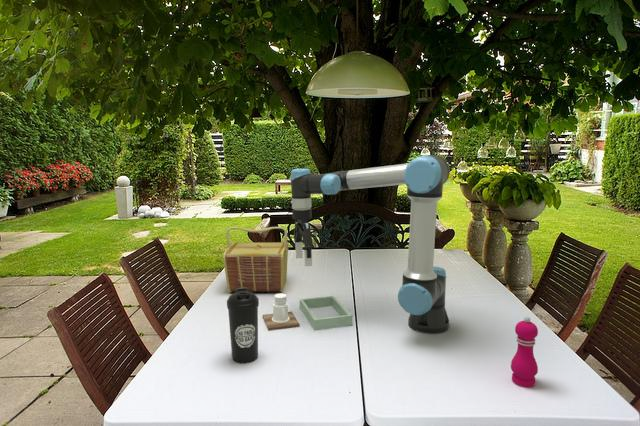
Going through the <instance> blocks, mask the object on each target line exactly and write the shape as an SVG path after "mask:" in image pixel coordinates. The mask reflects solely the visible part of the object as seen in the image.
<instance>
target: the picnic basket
mask: <svg viewBox="0 0 640 426" xmlns="http://www.w3.org/2000/svg"><path fill="white" fill-rule="evenodd" d="M231 230H242V231H244V232H246V233H247V232H248V233H256V234H257V233H265V232H269V231H271V230H283V231H284V237H283V238H284V239H283V242H279V241H277V242H275V241H273V242H269V241H268V242H264V241H262V242H259V241H258V242H235V241H233V242H232V243H231V240H230V239H231V238H230V231H231ZM225 234H226V241H227V242H226V243H227V248H226V249H225V251H224V252H223V253H222V254H223V255H222V259H223V260H222V261H223V265H224V274H225V279H226V285H227V290H228V293H230V294H231V293H236V288H241V287H247V289H248V291H249V292H252V293H257V292H260V293H263V292H266V293H267V292H269V293H270V292H271V293H272V292H273V293H274V292H280V293H283V292H284V289H285V286H286V284H287V277H288V276H287V275H288V274H287V273H288V255H289V242H288V230H287V229H286V228H285V227H284V226H270V227H266V228H258V229H257V228H255V229H254V228H249V227H248V228H247V227H241V226H234V227H233V226H231V227H229V228H227V229H226V232H225Z"/></svg>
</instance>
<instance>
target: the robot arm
mask: <svg viewBox="0 0 640 426" xmlns="http://www.w3.org/2000/svg"><path fill="white" fill-rule="evenodd" d="M450 174H451V170H450V165H449V163H448V161H447V160H446V159H445V158H443V157H442V156H440V155H436V154H429V155H420V156H418V157H415V158H413V159H412V160H411V161H409V162H408V163H401V164H400V163H399V164H393V165H392V164H391V165H384V166H374V167H367V168H360V169H359V168H358V169H352V170H351V169H350V170H340V171H334V172H327V173H320V174H319V173H318V174H317V173H315V174H314V173H311V169H309V168H294V169H292V170H291V171H290V185H291V201H290V204H291V208H292V210H291V213H292V214H291V215H292V217H291V218H292V220H294V229H293V240H294V244H295V259H303V258H304V267H305V268H306V267H312V266H313V249H314V248H315V247H314V242H313V237H312V230H311V223H310V222H308V220H310V219H312V214H313V213H312V211H313V210H312V209H311V208H312V206H313V205H312V195H327V196H329V195H337V194H338V193H339V192H340V191H348V190H357V189H368V188H370V189H371V188H379V187H381V188H382V187H390V186H403V185H405V186H406V197H407V198H408V199H409V200H410V213H409V214H410V217H409V218H410V219H409V237H408V238H409V239H408V255H407V256H408V257H407V268H406V269H405V270H404V271H403V272H402V281H401V282H402V284H401V285H402V286H401V287H400V288H399V290H398V293H397V301H398V303H399V306H400V307H401V308H402V309H403V310H404V311H405V312H406V313H408V314H409V316H408V318H407V319H408V324H407V325H408V327H409V328H410V329H411V330H413V331H416V332H419V333H424V334H440V333H445V332H447V331H448V330H449V328H450V320H449V316H448V313H447V310H446V286H447V285H446V284H447V271H446V269H445V268H444V267H440V266H435V265H434V258H435V257H434V256H435V243H436V241H435V240H436V225H437V212H438V211H437V209H438V202H439V201H440V200H441V199H442V198H443V189H444V185H445V184H446V183H447V181H448V179H449V178H450ZM303 252H304V253H303ZM303 255H304V257H303Z"/></svg>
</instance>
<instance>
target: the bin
mask: <svg viewBox="0 0 640 426" xmlns="http://www.w3.org/2000/svg"><path fill="white" fill-rule="evenodd" d="M330 306H331V307H332V308H333V309H334V310H335V311H336V312H337V314H338V313H339V314H338V315H335V316H326V317H319V318H318V317H316V316H315V314H314V313H313V312H312V310H311V309H314V308H322V307H330ZM299 309H300V311H301V312H302V314H303V315H304V317H305V319H306V320H307V321H308V323H309V324H310V326H311V327H312V329H313V330H314V331H321V330H330V329H335V328H343V327H351V326H353V315H352V313H350V311H348V310H347V308H346V307H345V306H344V305H343V304H342V303H341V302H340V301H339V300H338V299H337V298H336V297H335V295H328V296H327V295H325V296H317V297H307V298H300V299H299Z"/></svg>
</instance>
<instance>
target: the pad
mask: <svg viewBox="0 0 640 426" xmlns="http://www.w3.org/2000/svg"><path fill="white" fill-rule="evenodd" d="M272 317H273V313H266V314H262V319H263V321H264V323H265V325H266V328H267V330H268V331H277V330H284V329H292V328H299V327H301V326H300V322H299V321H298V319H297V318H296V316H295V314H294V313H293V311H288V317H289V318H290V320H289V321H287V322H284V323H276V322H273V321H272Z"/></svg>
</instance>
